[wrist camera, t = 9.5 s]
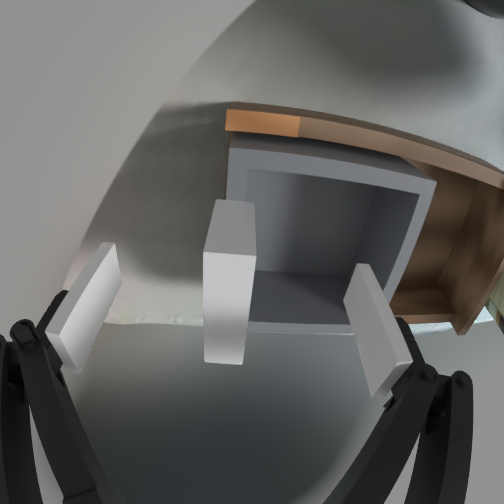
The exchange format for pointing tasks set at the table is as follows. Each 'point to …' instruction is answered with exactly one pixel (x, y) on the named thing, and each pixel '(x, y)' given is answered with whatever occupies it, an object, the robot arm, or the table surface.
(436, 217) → the bay
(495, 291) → the coffee can
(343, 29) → the table surface
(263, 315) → the box
